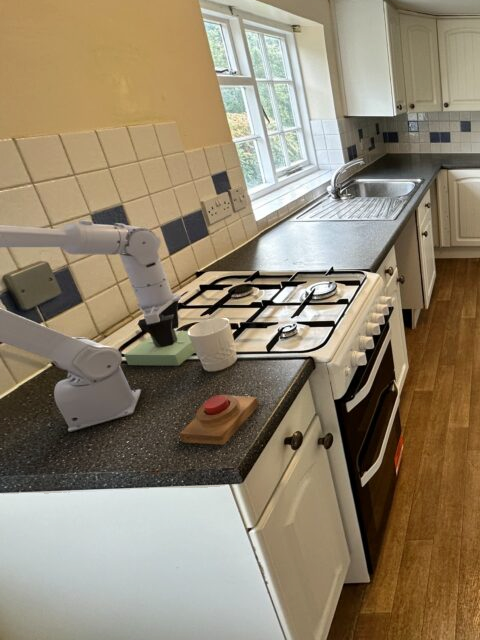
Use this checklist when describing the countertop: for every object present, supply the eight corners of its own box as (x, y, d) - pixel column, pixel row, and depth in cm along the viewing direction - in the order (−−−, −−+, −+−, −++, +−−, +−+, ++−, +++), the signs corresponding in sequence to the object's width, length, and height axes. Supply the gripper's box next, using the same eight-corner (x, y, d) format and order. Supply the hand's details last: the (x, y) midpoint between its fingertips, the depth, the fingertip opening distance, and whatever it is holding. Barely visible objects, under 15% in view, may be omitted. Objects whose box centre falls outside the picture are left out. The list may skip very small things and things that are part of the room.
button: (220, 416, 76) (217, 408, 76) (201, 415, 77) (198, 407, 76) (233, 402, 80) (231, 395, 79) (215, 401, 80) (213, 394, 79)
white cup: (208, 378, 92) (194, 340, 88) (195, 364, 96) (181, 328, 92) (246, 360, 97) (235, 324, 94) (232, 348, 102) (221, 313, 98)
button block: (224, 445, 75) (218, 428, 73) (182, 442, 75) (175, 425, 74) (259, 405, 84) (254, 389, 82) (222, 403, 84) (216, 388, 83)
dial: (164, 336, 101) (158, 321, 100) (182, 337, 101) (176, 322, 100) (149, 347, 97) (143, 332, 96) (168, 347, 97) (162, 332, 96)
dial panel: (128, 365, 96) (123, 353, 95) (162, 340, 105) (158, 330, 104) (178, 365, 96) (174, 354, 95) (208, 341, 105) (205, 330, 104)
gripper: (168, 290, 82) (188, 347, 87) (178, 265, 93) (195, 317, 99) (121, 299, 78) (146, 358, 84) (138, 272, 90) (158, 325, 95)
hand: (170, 336), depth 91 cm, fingers open, 7 cm apart
